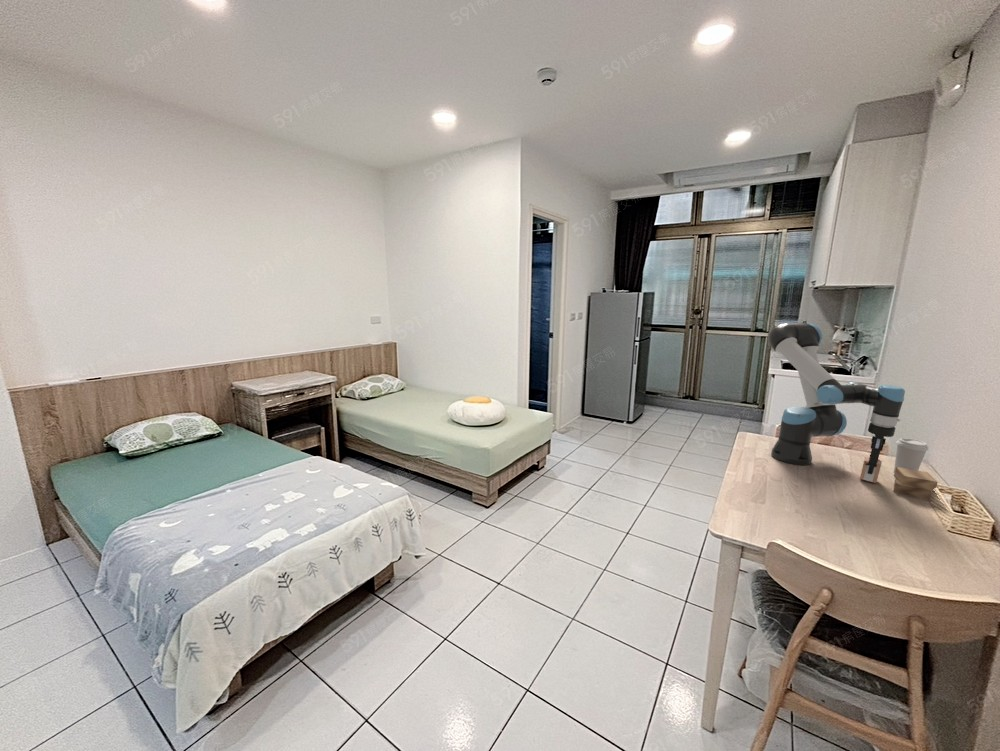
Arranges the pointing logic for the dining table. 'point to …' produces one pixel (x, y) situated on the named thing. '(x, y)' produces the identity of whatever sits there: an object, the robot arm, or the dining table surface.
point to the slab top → (915, 479)
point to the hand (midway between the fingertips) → (868, 478)
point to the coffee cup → (910, 453)
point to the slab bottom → (911, 491)
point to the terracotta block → (875, 470)
